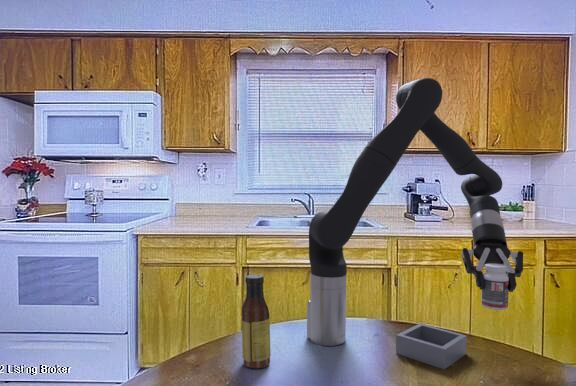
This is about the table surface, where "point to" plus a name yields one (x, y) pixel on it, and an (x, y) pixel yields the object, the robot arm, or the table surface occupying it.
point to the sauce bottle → (255, 325)
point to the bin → (431, 345)
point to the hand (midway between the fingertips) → (496, 288)
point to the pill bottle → (495, 287)
